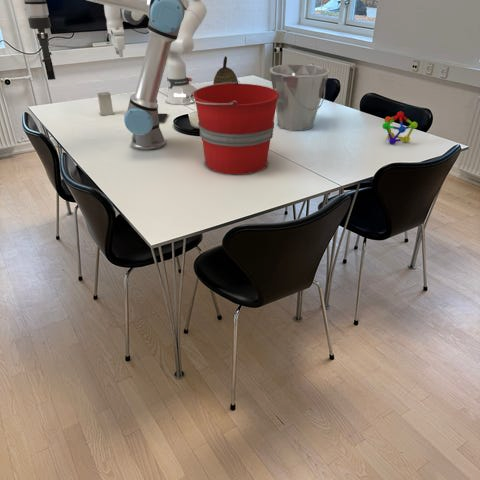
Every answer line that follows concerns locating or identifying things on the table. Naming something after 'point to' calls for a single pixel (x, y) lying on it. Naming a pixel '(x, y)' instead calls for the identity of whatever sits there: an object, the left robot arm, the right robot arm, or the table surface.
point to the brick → (105, 103)
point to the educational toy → (398, 128)
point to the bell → (225, 74)
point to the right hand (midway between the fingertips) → (119, 55)
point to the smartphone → (162, 117)
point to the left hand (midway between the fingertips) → (51, 76)
